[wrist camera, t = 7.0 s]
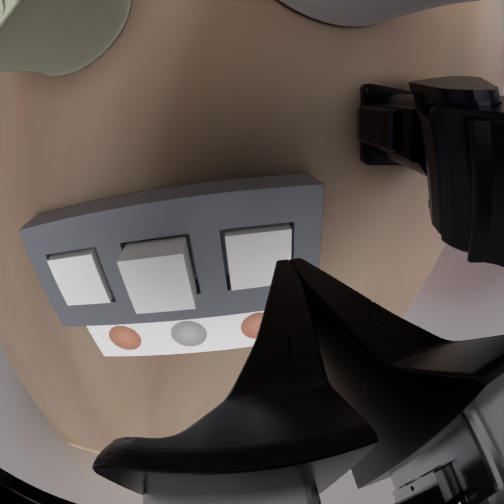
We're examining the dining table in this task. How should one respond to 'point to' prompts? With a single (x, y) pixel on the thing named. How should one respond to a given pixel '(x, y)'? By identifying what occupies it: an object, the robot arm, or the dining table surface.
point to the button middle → (158, 275)
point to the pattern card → (178, 335)
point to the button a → (80, 277)
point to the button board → (175, 225)
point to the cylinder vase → (362, 9)
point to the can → (57, 33)
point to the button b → (256, 253)
